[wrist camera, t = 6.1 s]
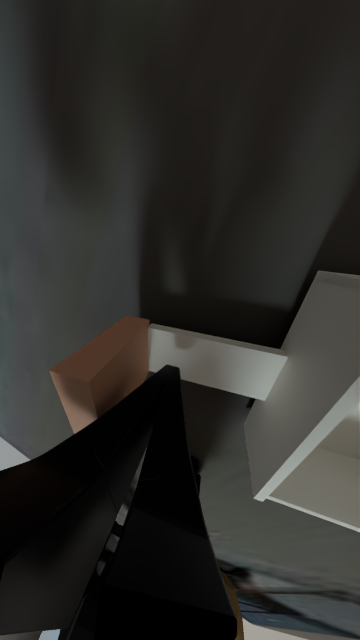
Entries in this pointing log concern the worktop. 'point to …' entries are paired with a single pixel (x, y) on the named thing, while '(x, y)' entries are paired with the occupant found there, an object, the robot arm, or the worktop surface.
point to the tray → (254, 393)
